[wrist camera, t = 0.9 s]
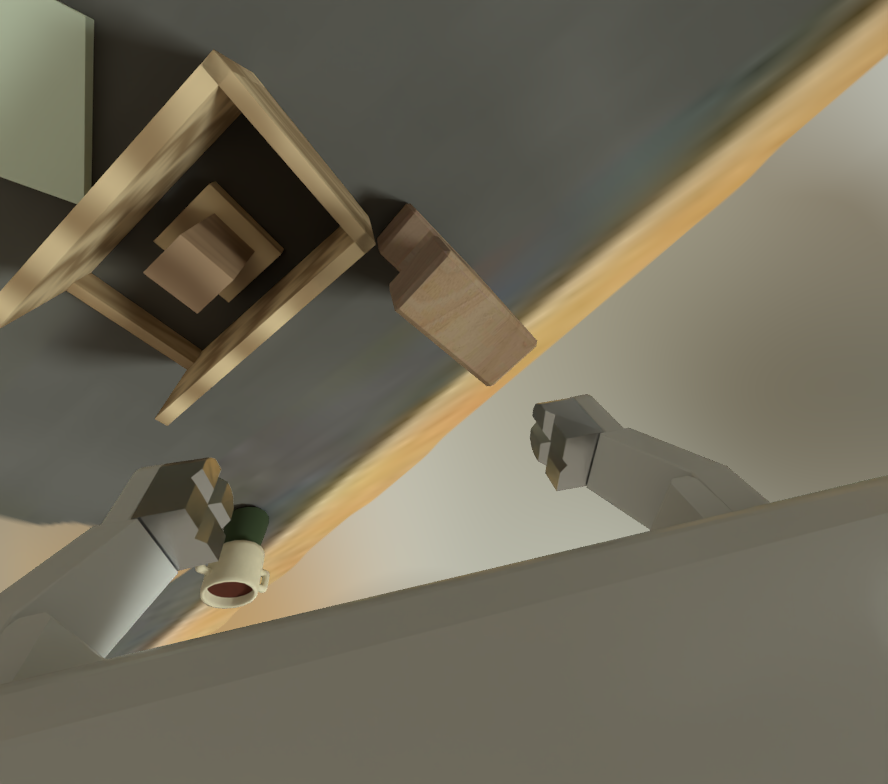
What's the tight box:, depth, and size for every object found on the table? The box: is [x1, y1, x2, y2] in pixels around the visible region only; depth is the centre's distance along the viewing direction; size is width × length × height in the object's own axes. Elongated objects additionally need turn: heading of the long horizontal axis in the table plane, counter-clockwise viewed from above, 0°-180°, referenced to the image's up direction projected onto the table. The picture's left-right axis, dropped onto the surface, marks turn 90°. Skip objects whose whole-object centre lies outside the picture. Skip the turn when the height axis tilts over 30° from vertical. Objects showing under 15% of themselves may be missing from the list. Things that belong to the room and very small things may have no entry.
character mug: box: [195, 507, 269, 609], centre depth 56 cm, size 11×7×13 cm, turn 38°
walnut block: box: [143, 213, 255, 314], centre depth 34 cm, size 4×4×9 cm
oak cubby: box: [0, 50, 376, 426], centre depth 34 cm, size 26×14×12 cm, turn 126°
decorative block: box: [377, 204, 537, 386], centre depth 36 cm, size 11×6×20 cm, turn 43°
